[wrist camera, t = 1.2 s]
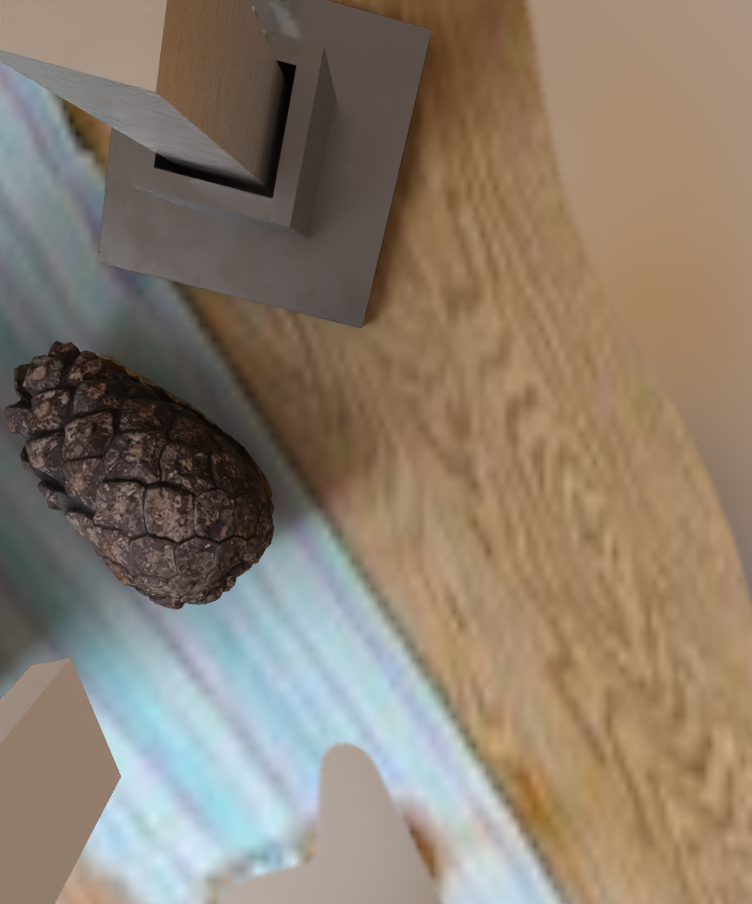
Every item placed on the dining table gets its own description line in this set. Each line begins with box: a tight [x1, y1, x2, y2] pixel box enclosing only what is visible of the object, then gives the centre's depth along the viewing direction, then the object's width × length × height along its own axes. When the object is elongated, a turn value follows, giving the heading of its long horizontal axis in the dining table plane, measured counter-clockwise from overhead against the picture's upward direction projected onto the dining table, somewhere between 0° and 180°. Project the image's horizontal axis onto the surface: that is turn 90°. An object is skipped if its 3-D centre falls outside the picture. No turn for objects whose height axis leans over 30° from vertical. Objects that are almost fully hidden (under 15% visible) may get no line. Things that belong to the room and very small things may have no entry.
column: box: [0, 0, 292, 199], centre depth 22 cm, size 4×5×20 cm
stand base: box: [98, 0, 432, 328], centre depth 25 cm, size 16×16×19 cm
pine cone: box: [4, 341, 274, 610], centre depth 34 cm, size 10×18×10 cm, turn 53°
